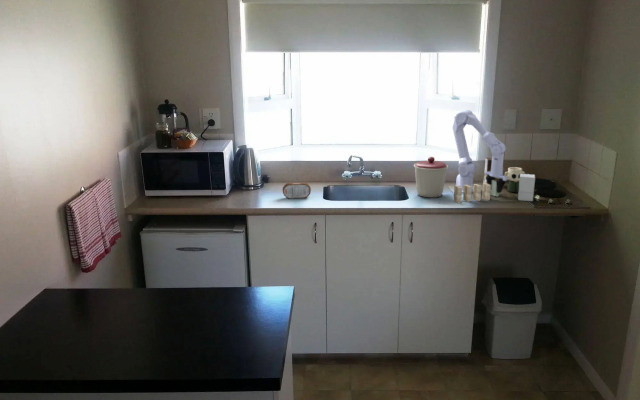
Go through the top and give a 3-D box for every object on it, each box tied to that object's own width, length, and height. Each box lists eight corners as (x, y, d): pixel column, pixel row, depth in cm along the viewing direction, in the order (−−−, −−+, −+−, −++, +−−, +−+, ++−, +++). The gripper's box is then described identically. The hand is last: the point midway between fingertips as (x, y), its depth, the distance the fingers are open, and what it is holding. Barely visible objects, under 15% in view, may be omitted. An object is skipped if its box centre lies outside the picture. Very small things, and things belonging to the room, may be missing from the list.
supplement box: (532, 197, 272) (535, 174, 269) (532, 201, 265) (535, 177, 262) (517, 196, 275) (520, 173, 271) (517, 200, 268) (519, 176, 265)
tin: (310, 197, 279) (310, 181, 277) (311, 198, 276) (310, 183, 274) (282, 197, 278) (282, 182, 276) (282, 199, 275) (282, 183, 273)
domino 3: (472, 198, 271) (473, 184, 269) (475, 198, 272) (476, 183, 270) (476, 201, 267) (477, 186, 265) (480, 200, 268) (481, 185, 266)
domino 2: (462, 199, 270) (463, 184, 268) (466, 199, 271) (467, 184, 268) (467, 202, 266) (468, 186, 264) (470, 201, 266) (471, 186, 264)
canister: (423, 201, 268) (424, 161, 263) (406, 192, 285) (407, 155, 279) (453, 197, 274) (455, 158, 268) (435, 189, 290) (437, 152, 285)
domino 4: (481, 198, 273) (482, 183, 271) (485, 197, 273) (486, 183, 271) (486, 200, 269) (487, 185, 266) (489, 200, 269) (490, 185, 267)
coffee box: (485, 187, 294) (487, 159, 290) (483, 184, 300) (485, 157, 296) (501, 187, 293) (504, 159, 289) (499, 184, 299) (501, 157, 295)
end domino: (490, 194, 279) (491, 180, 277) (494, 194, 280) (495, 179, 278) (495, 196, 275) (496, 182, 273) (498, 196, 276) (499, 181, 274)
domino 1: (453, 200, 269) (454, 185, 267) (456, 200, 269) (457, 185, 267) (457, 202, 265) (458, 187, 263) (461, 202, 265) (462, 187, 263)
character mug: (505, 193, 281) (508, 170, 277) (500, 190, 288) (502, 167, 284) (525, 193, 282) (527, 169, 278) (520, 189, 288) (522, 166, 285)
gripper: (481, 164, 278) (480, 188, 282) (500, 169, 265) (498, 195, 269) (492, 163, 281) (490, 187, 285) (511, 168, 268) (509, 193, 272)
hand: (495, 191), depth 277 cm, fingers open, 6 cm apart
